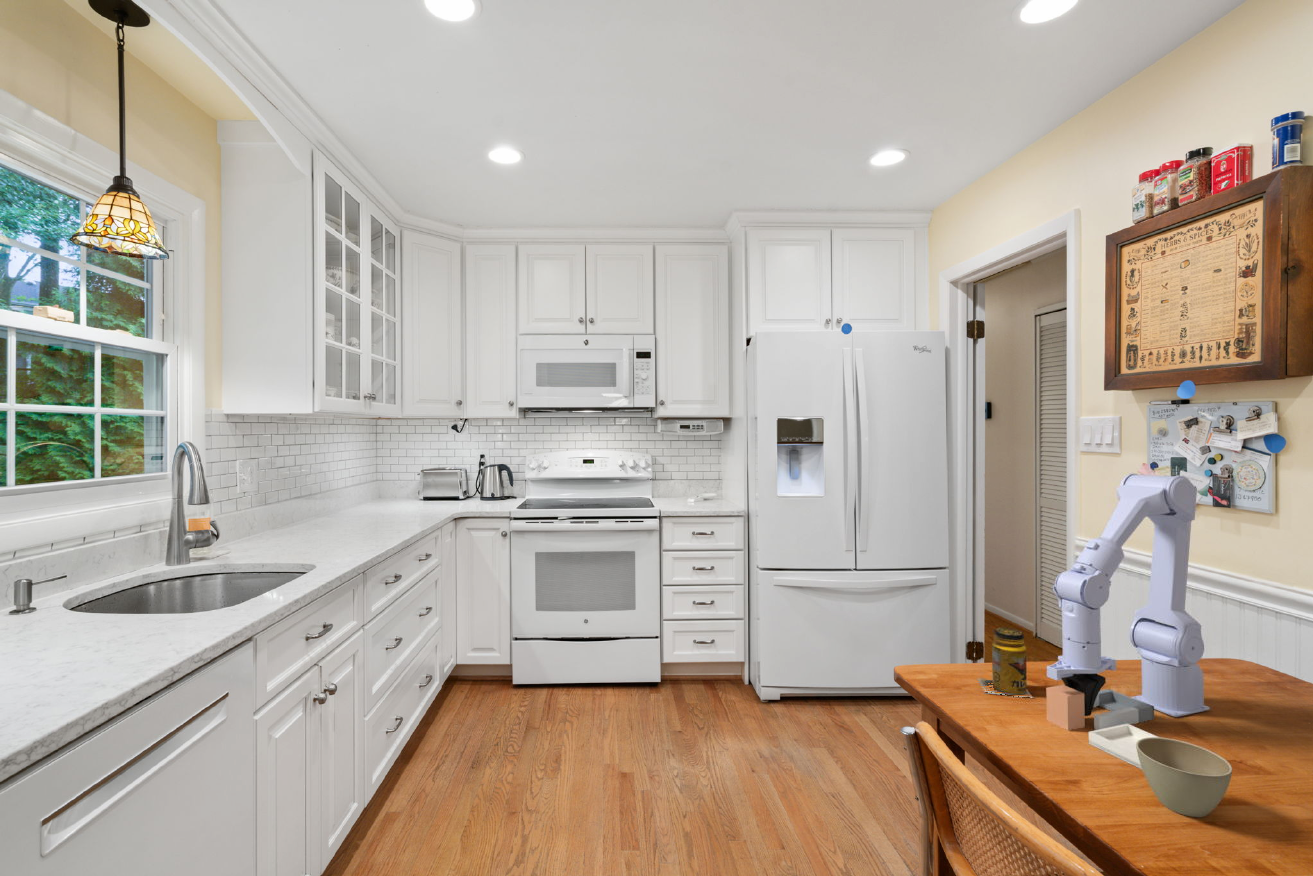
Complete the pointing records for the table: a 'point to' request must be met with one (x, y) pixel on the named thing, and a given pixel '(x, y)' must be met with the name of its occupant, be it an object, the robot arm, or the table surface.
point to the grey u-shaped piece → (1125, 704)
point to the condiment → (1008, 663)
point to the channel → (1115, 717)
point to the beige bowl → (1184, 775)
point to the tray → (1119, 741)
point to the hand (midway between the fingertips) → (1082, 713)
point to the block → (1065, 707)
